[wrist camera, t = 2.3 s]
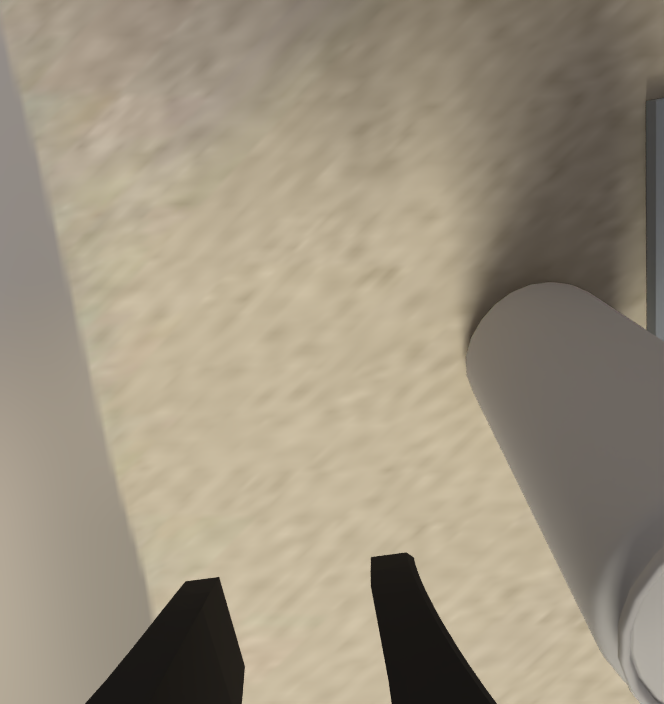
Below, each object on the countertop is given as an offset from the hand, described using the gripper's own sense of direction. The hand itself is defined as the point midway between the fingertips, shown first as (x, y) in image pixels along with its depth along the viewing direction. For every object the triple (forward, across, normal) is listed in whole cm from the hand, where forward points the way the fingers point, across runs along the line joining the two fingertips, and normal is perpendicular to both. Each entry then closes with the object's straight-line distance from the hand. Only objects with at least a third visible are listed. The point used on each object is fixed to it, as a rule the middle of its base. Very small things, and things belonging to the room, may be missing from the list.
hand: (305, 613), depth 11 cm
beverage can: (+11, -7, 0) cm, 13 cm away
